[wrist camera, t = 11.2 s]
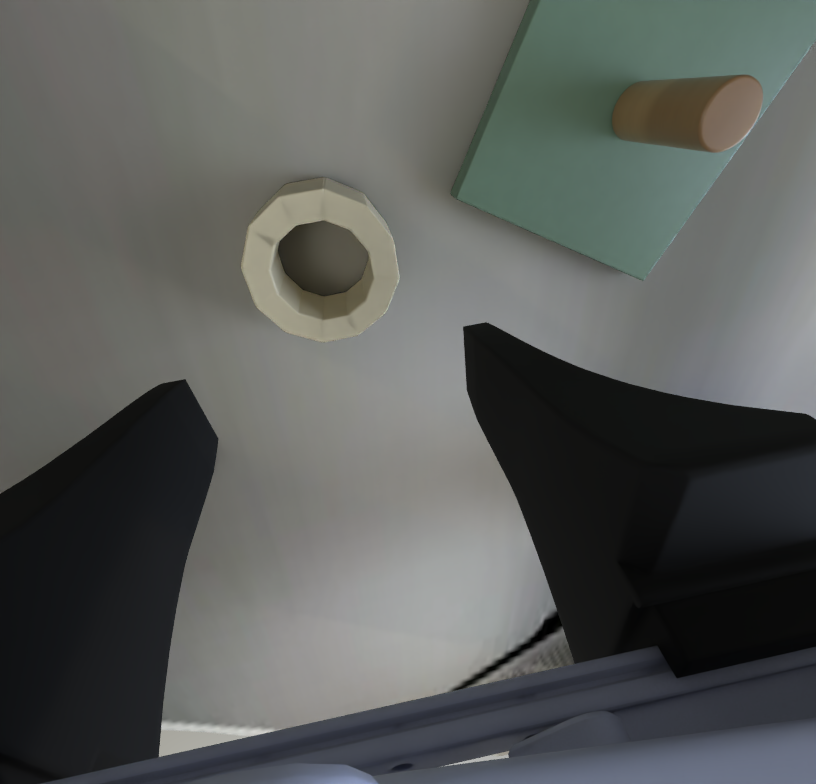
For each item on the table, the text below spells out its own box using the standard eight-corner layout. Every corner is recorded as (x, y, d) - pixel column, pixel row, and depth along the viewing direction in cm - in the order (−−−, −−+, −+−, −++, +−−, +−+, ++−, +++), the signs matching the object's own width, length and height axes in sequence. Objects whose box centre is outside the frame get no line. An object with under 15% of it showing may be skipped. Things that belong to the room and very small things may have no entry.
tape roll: (410, 211, 17) (420, 226, 15) (366, 329, 19) (370, 356, 17) (269, 154, 15) (259, 162, 13) (242, 293, 18) (231, 318, 16)
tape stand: (807, 19, 15) (1008, -15, 10) (631, 274, 20) (716, 324, 15) (599, -168, 12) (763, -334, 7) (449, 194, 16) (492, 228, 12)
